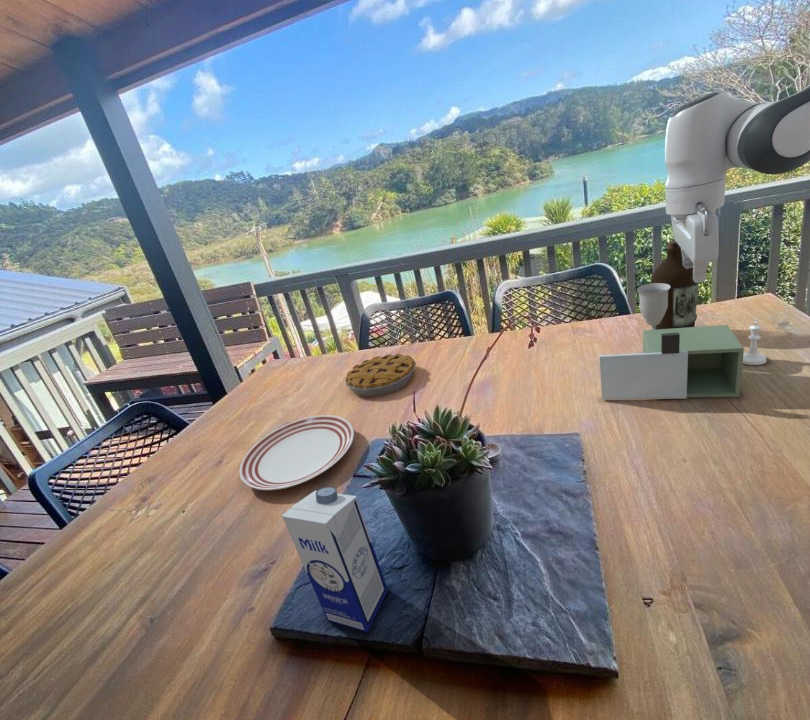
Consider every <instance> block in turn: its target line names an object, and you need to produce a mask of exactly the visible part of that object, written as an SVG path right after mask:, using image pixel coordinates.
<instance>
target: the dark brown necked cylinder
mask: <svg viewBox="0 0 810 720" xmlns="http://www.w3.org/2000/svg"><path fill="white" fill-rule="evenodd" d="M652 283H664V284H668V285H670V289H669V290H668V307H667V310H666V312H665V315H664V317H663V318H662V320H661V322H660V324H658V325H656V330H658V329H672V328H687V327H696V322H697V318H698V314H697V305H698V294H699V284H700V282H699V283H695V282H694V280H693V268H689V269H685V268H684V267H683V258H682V252H681V247H680V246H679V245H678V244H677V242H676V241H675V240H670V241H668V242H667V248H666V258H665V259H664V260H663V261H662V262H661V263H660V264H659V265H658V266H657V267H656V268H655V269H654V271H653V272H652V274H651V277H650V282H649V284H652Z"/></svg>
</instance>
